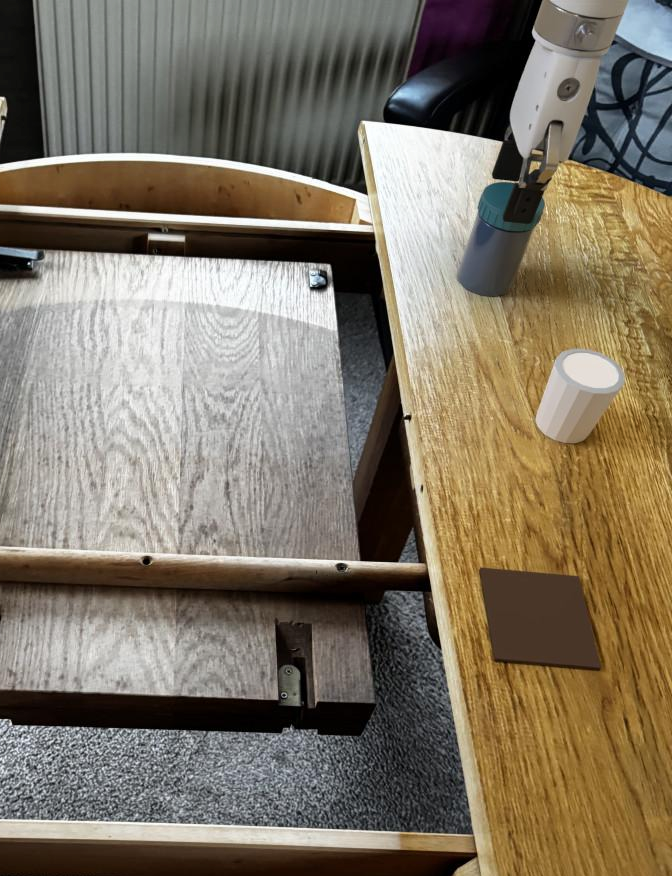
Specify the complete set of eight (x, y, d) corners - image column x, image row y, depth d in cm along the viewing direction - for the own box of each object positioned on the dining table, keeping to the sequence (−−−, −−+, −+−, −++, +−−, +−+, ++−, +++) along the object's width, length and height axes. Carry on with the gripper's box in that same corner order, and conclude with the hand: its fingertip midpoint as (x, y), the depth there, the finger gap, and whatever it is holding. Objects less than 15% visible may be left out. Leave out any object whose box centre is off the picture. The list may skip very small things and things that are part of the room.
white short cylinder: (531, 442, 94) (558, 386, 88) (526, 398, 98) (552, 342, 92) (599, 452, 94) (630, 397, 88) (591, 407, 98) (621, 352, 92)
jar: (507, 266, 113) (536, 189, 105) (515, 299, 109) (546, 221, 101) (453, 261, 112) (479, 184, 105) (460, 293, 109) (486, 215, 101)
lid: (533, 201, 106) (539, 184, 105) (543, 234, 102) (550, 218, 100) (473, 195, 106) (478, 178, 104) (481, 228, 102) (486, 212, 100)
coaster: (577, 578, 84) (579, 575, 83) (599, 670, 78) (601, 667, 78) (478, 570, 83) (480, 567, 83) (493, 661, 78) (495, 658, 77)
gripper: (635, 69, 84) (557, 248, 98) (597, -9, 94) (531, 163, 108) (553, 59, 83) (487, 240, 98) (524, -18, 93) (467, 156, 108)
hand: (510, 199), depth 103 cm, fingers open, 8 cm apart
